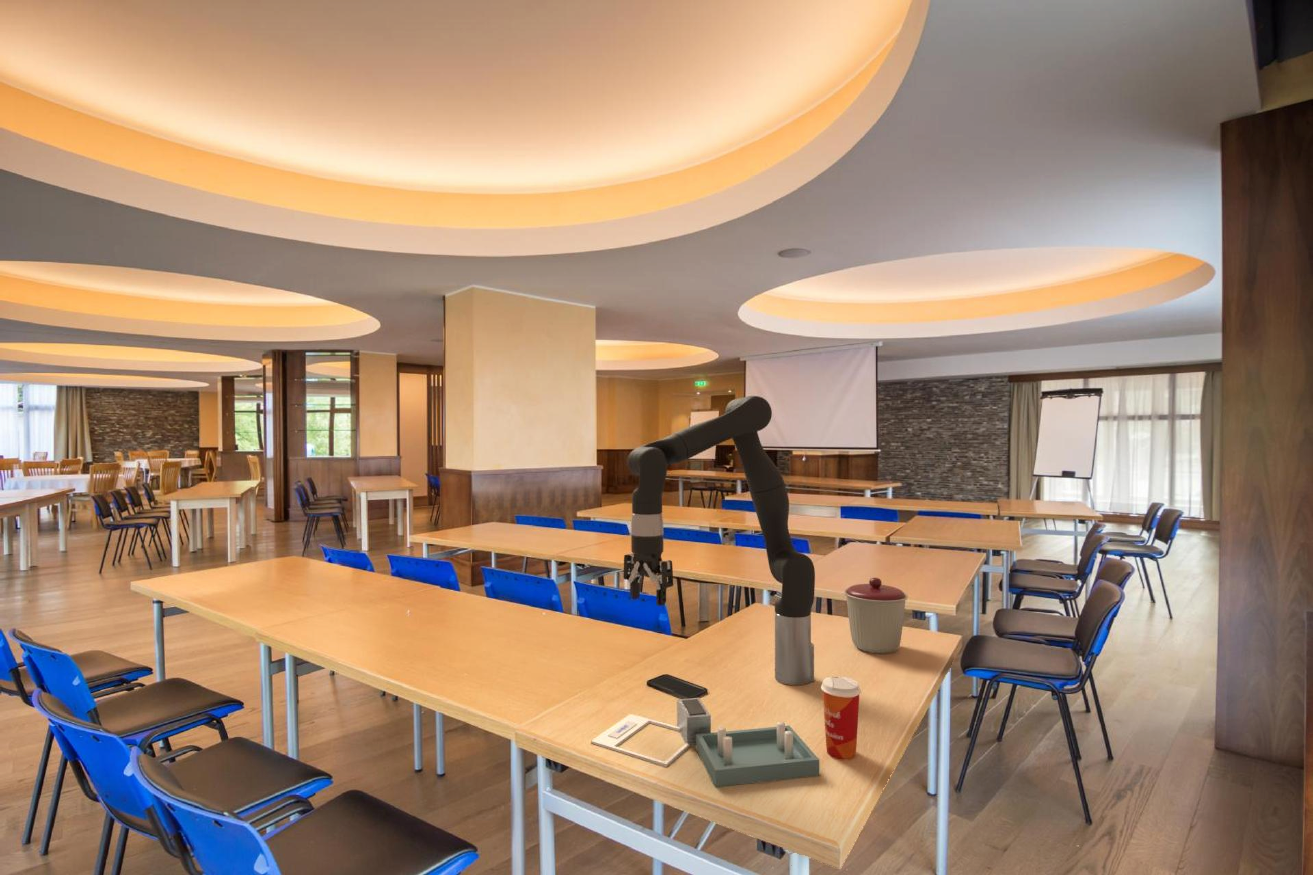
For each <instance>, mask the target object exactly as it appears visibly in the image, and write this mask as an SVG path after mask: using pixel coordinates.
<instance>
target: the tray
mask: <svg viewBox="0 0 1313 875" xmlns="http://www.w3.org/2000/svg"><path fill="white" fill-rule="evenodd" d="M695 750H696V752H697V754H698V756H699V758H700V759H701V761H702V763H703V766H704V768H705V769H706V772H707V774H708V775H709V777H710V779H711V781H712V784H713V785H714V787H715V788H720V787H728V786H737V785H745V784H746V785H747V784H755V783H765V782H773V781H782V780H793V779H801V778H810V777H818V776H820V758H819V757H818V756H817V755H816V754H815V753H814V752H813V750H812V749H811V748H810V747H809V746H808V744H806V743H805V741H803V739H802V738H801V737H800V736H799V734H797V732H795V729H793V728H792V727H791V726H790V725H786V723H785V722H784V721H783V722H782V721H777V722H776V726H769V727H760V728H759V727H758V728H750V729H739V730H738V729H737V730H728V731H727V729H726V727H723V726H720V727H717V732H716V731H715V732H711V733H704V734H696V746H695Z"/></svg>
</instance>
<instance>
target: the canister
mask: <svg viewBox="0 0 1313 875" xmlns="http://www.w3.org/2000/svg"><path fill="white" fill-rule="evenodd" d="M843 594H844V595H845V596H846V598H845V599H846V604H847V605H846V606H847V614H848V623H849V624H848V625H849V630H850V636H851V640H852V643H853V645H854V646H855V647H856V648H858V649H859V650H861V651H864V652H867V653H873V654H882V655H883V654H890V653H893V652H896V651H897V650H898V649H899V647H900V645H901V641H902V635H903V627H904V618H905V610H906V608H905V607H906V601H907V600H908V598H909V595H908V594H907V593H905V592H904V591H903V590H902V589H901V588H897V587H894V586H890V585H886V584H883V582H882V579H880V578H879V577H871V578H870V579H869V581H868V583H859V584H858V583H857V584H854V585H851V586H849V587H848V588H846V589H844V590H843Z"/></svg>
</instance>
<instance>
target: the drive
mask: <svg viewBox="0 0 1313 875" xmlns="http://www.w3.org/2000/svg"><path fill="white" fill-rule="evenodd" d="M711 716H712V715H711V713H710V712H709V711H708V709H707V707H706V706H705V704H704V703H703V701H702V700H701V698H700V697H698V698H691V699H680V698H678V699H676V726H677V727H679V731H678V732H679V734H680V735H681V738H682V740H683V741H684V743H685V744H686V743H687V744H690V746H689V747H696V734H704V733H712V726H711V725H712V724H711V723H712V722H711V721H712V718H711Z"/></svg>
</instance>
